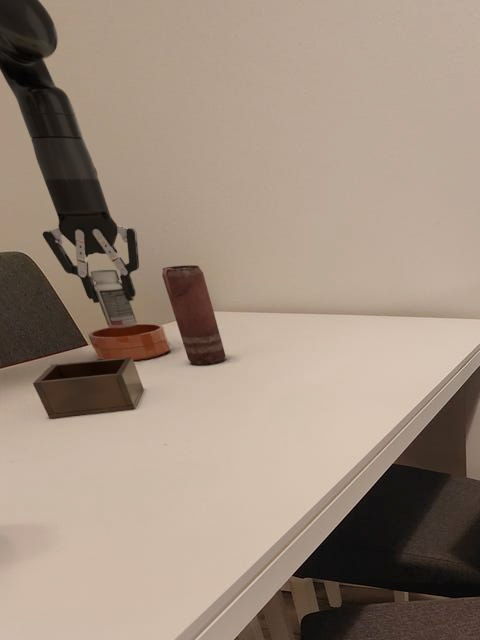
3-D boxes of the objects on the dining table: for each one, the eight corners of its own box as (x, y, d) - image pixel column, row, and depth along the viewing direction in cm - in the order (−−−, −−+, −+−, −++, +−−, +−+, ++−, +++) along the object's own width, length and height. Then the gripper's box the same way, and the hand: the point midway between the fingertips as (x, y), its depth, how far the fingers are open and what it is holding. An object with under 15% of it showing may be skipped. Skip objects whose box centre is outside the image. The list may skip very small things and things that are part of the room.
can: (180, 364, 101) (150, 268, 92) (207, 355, 105) (180, 263, 96) (208, 367, 99) (179, 269, 90) (233, 358, 103) (208, 264, 95)
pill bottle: (143, 324, 105) (125, 269, 100) (121, 329, 102) (101, 273, 97) (124, 322, 107) (106, 269, 102) (102, 327, 104) (81, 272, 98)
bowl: (92, 365, 101) (82, 340, 99) (104, 350, 111) (95, 327, 108) (167, 358, 104) (159, 333, 102) (173, 344, 113) (165, 321, 111)
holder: (49, 418, 78) (32, 383, 76) (66, 397, 86) (51, 364, 84) (134, 408, 81) (121, 374, 78) (143, 389, 89) (132, 356, 86)
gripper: (11, 177, 87) (63, 307, 98) (117, 175, 90) (156, 301, 101) (25, 177, 93) (73, 300, 103) (124, 176, 96) (160, 295, 107)
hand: (114, 300), depth 102 cm, fingers closed on pill bottle, 4 cm apart
